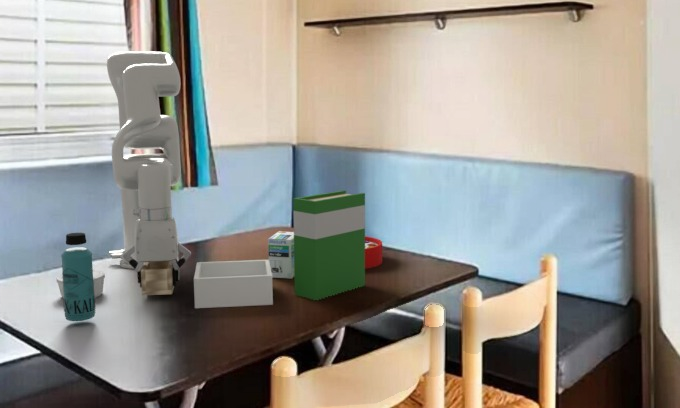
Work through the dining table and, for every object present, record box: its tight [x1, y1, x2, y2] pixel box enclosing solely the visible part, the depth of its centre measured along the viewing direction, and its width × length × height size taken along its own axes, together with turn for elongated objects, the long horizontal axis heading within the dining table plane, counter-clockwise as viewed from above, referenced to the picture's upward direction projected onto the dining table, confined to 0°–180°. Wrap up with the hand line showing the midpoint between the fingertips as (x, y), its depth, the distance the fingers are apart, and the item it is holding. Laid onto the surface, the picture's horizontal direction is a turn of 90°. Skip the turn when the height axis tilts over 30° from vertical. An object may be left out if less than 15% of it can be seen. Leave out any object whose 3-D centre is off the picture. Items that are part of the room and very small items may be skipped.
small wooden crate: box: [141, 261, 175, 296], centre depth 179 cm, size 7×9×6 cm
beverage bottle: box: [60, 232, 96, 322], centre depth 157 cm, size 6×7×20 cm
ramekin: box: [56, 269, 106, 299], centre depth 180 cm, size 11×11×5 cm
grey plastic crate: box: [193, 259, 274, 309], centre depth 178 cm, size 18×16×7 cm
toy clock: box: [365, 235, 383, 270], centre depth 213 cm, size 20×6×20 cm
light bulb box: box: [267, 230, 294, 280], centre depth 199 cm, size 11×7×11 cm, turn 168°
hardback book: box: [292, 189, 366, 301], centre depth 182 cm, size 18×7×24 cm, turn 137°
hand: (158, 284), depth 179 cm, fingers closed on small wooden crate, 7 cm apart
